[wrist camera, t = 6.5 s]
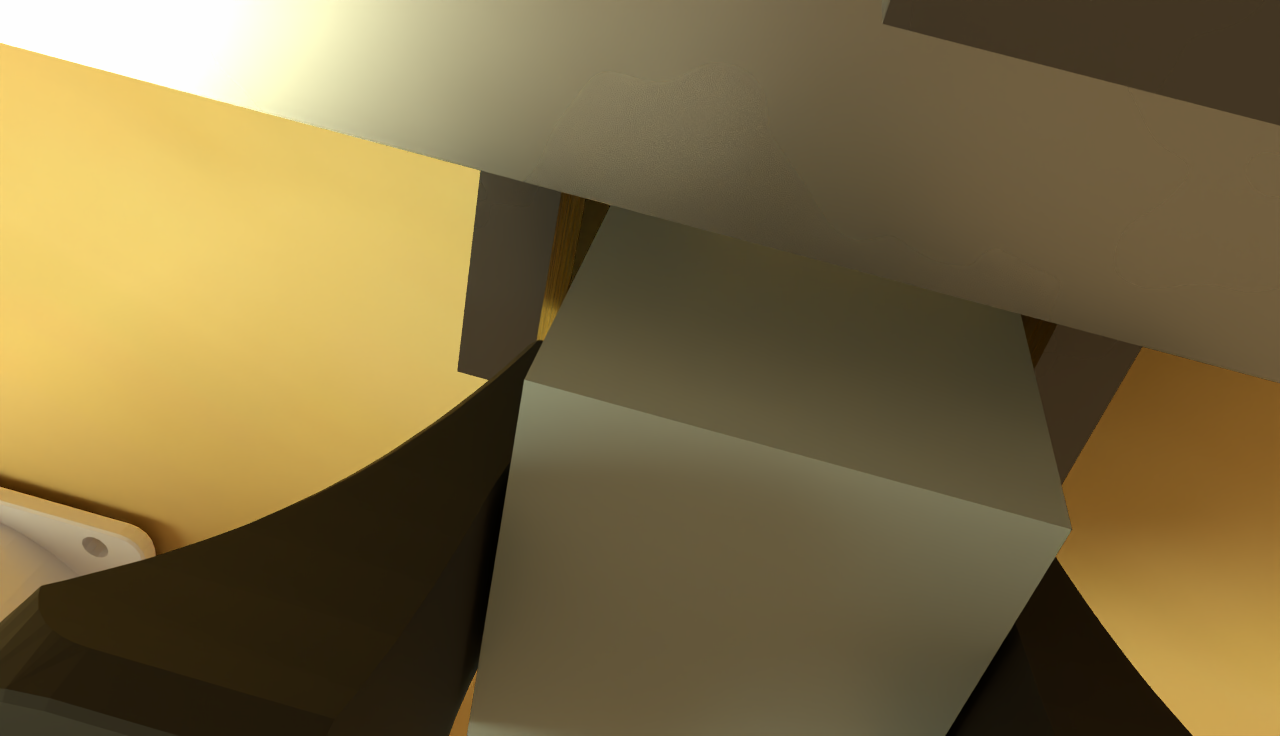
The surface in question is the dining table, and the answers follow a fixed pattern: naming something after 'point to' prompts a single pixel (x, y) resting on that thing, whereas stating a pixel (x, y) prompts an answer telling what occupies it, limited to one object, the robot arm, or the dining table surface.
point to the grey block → (762, 499)
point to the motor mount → (801, 145)
